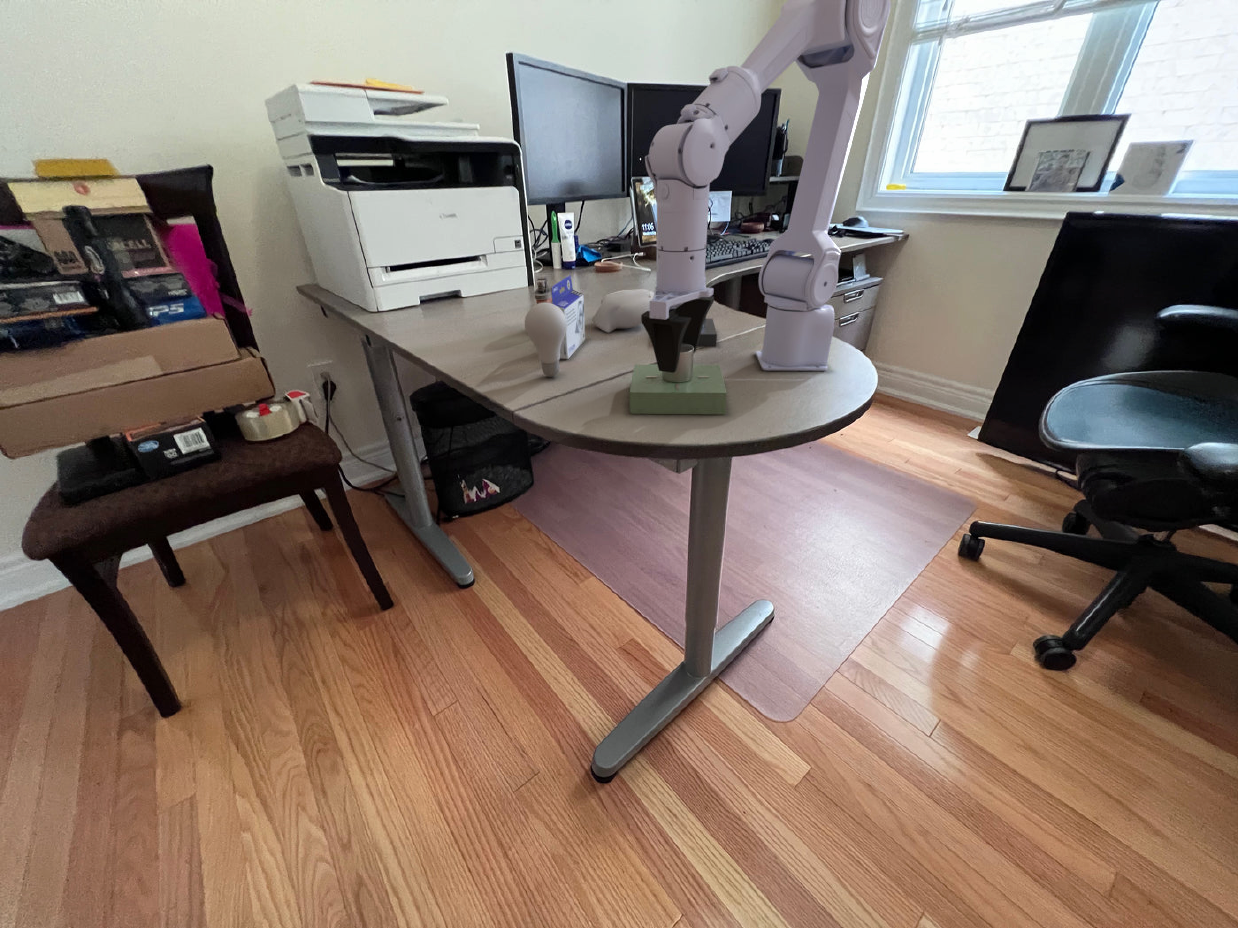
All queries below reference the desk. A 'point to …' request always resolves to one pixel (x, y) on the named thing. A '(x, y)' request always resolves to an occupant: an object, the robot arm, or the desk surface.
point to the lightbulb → (547, 334)
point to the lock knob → (682, 366)
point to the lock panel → (677, 392)
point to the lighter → (543, 290)
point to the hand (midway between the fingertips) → (677, 361)
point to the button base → (708, 334)
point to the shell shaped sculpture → (622, 309)
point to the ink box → (570, 315)
